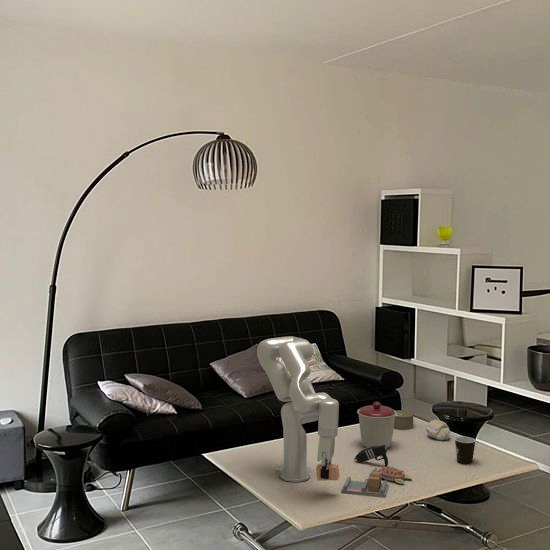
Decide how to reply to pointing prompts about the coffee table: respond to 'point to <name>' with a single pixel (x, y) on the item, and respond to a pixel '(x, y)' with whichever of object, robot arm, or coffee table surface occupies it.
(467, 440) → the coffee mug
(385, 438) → the canister
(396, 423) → the can
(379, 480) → the walnut bar
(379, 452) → the gun
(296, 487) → the coffee table surface
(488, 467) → the coffee table surface
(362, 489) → the slot rack
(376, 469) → the decorative turtle
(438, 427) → the fossil replica
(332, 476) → the terracotta bar
